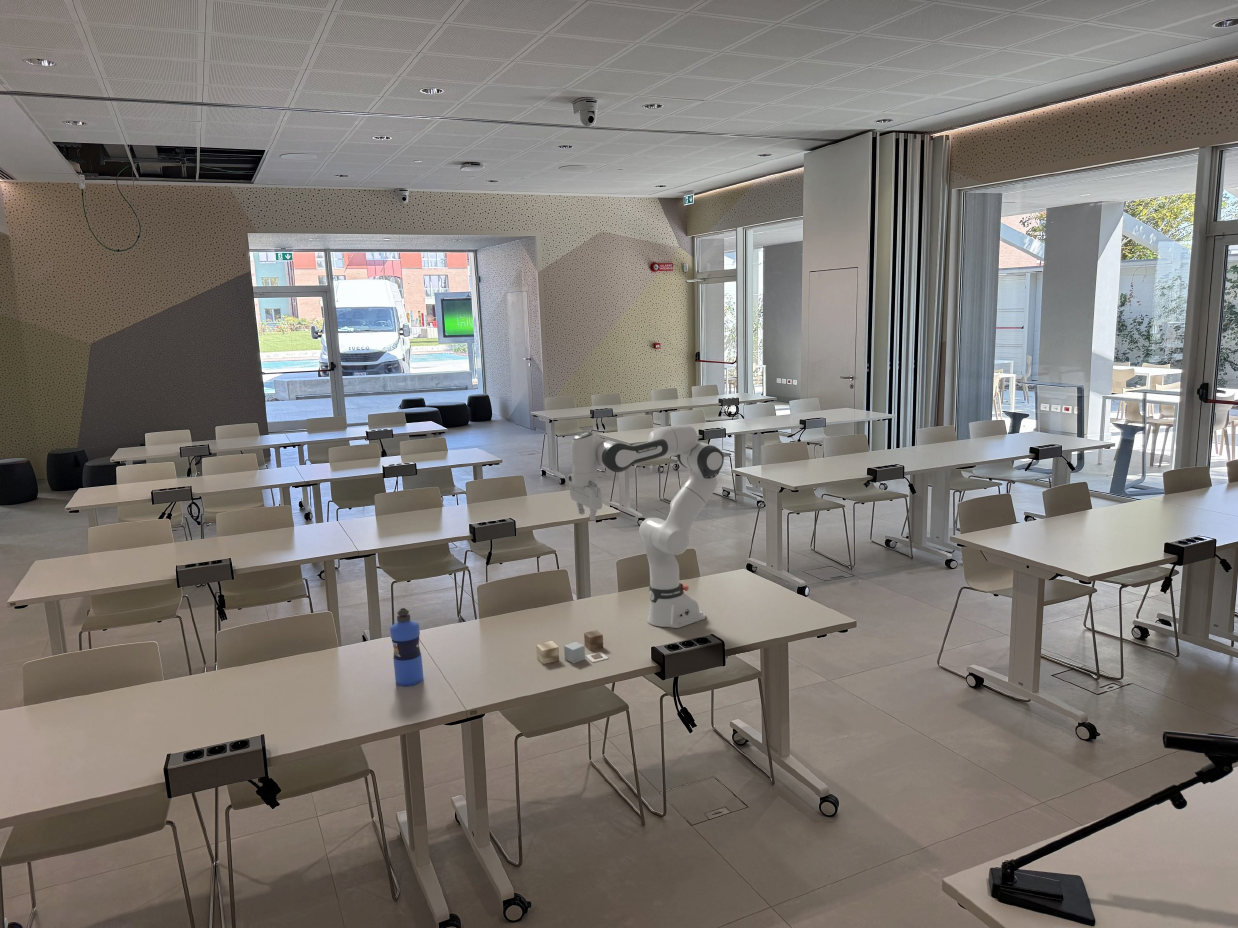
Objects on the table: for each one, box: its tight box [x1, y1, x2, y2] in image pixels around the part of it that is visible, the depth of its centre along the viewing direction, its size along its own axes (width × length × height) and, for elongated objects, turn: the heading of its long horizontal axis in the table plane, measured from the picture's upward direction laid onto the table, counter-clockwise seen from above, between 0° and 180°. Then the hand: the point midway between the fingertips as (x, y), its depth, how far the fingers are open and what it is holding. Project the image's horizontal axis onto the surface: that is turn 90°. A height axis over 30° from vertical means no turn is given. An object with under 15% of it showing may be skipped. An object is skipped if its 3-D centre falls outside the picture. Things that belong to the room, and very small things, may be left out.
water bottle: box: [389, 607, 424, 687], centre depth 279 cm, size 9×9×25 cm
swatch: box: [585, 651, 609, 664], centre depth 293 cm, size 6×6×1 cm
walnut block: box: [583, 629, 604, 652], centre depth 302 cm, size 5×5×5 cm
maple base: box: [535, 640, 560, 665], centre depth 293 cm, size 6×6×5 cm
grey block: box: [563, 641, 586, 664], centre depth 292 cm, size 5×5×5 cm
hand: (587, 516), depth 301 cm, fingers open, 8 cm apart
